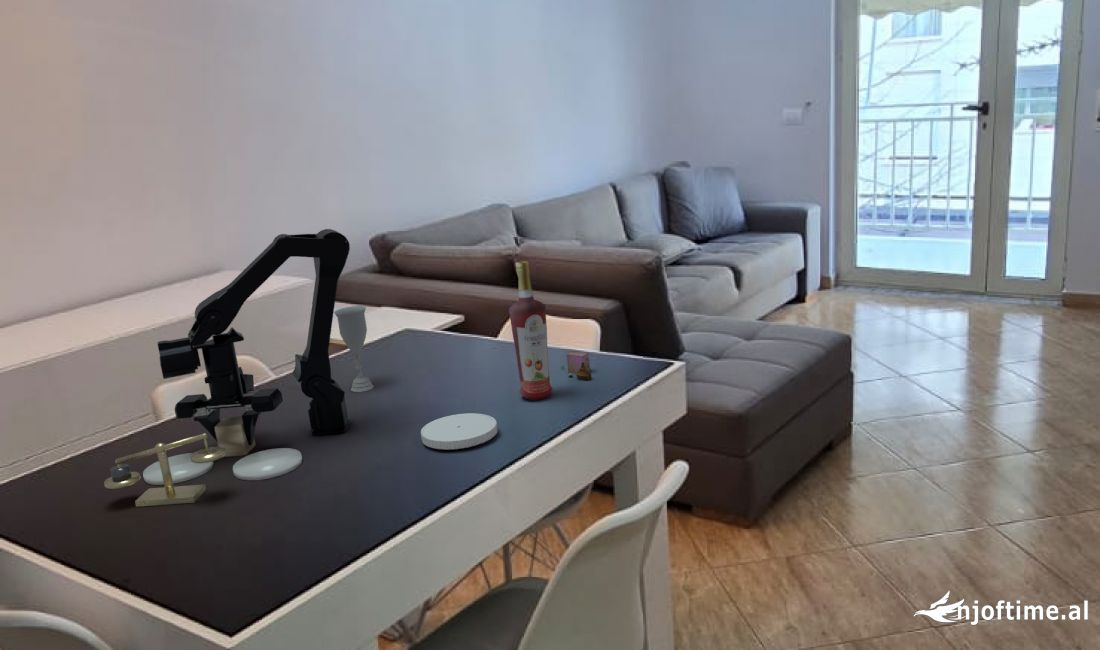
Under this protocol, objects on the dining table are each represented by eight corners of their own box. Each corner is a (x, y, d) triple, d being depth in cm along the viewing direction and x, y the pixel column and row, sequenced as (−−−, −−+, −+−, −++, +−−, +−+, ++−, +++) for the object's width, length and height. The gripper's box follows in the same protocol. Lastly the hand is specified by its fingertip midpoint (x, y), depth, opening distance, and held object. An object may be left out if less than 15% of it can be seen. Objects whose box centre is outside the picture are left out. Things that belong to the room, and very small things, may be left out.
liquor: (526, 405, 185) (511, 268, 178) (513, 395, 192) (498, 263, 185) (560, 397, 188) (546, 261, 181) (545, 388, 195) (532, 257, 187)
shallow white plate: (310, 450, 172) (309, 445, 172) (290, 477, 161) (289, 472, 161) (247, 455, 173) (246, 450, 173) (223, 482, 162) (222, 477, 161)
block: (255, 444, 179) (250, 415, 177) (246, 455, 174) (240, 425, 172) (230, 446, 179) (224, 417, 177) (220, 456, 174) (214, 427, 173)
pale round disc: (223, 455, 174) (222, 450, 174) (197, 482, 163) (196, 477, 163) (162, 460, 175) (161, 455, 175) (131, 487, 164) (130, 482, 163)
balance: (238, 486, 159) (226, 426, 156) (226, 501, 154) (213, 438, 151) (119, 495, 161) (105, 435, 158) (103, 509, 155) (88, 448, 152)
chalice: (370, 393, 203) (358, 313, 198) (341, 394, 204) (328, 315, 200) (382, 382, 210) (371, 305, 205) (354, 383, 211) (342, 306, 207)
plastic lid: (407, 445, 171) (405, 432, 171) (463, 420, 181) (461, 408, 180) (457, 460, 162) (455, 447, 161) (513, 434, 172) (512, 421, 171)
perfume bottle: (552, 380, 201) (550, 360, 199) (582, 363, 210) (580, 344, 209) (599, 385, 194) (597, 365, 193) (628, 368, 203) (626, 349, 202)
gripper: (284, 351, 179) (298, 426, 183) (191, 358, 180) (206, 433, 184) (265, 368, 168) (279, 448, 172) (165, 376, 170) (182, 455, 174)
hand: (237, 445), depth 176 cm, fingers closed on block, 5 cm apart
